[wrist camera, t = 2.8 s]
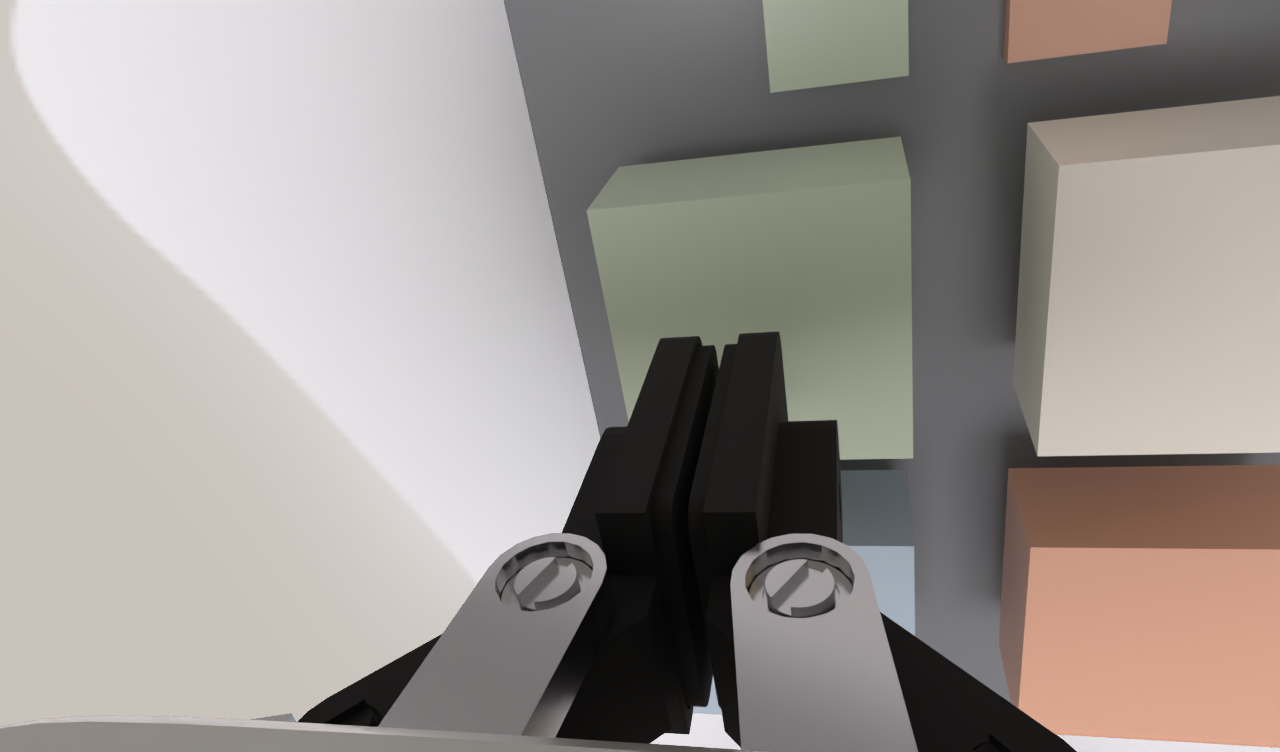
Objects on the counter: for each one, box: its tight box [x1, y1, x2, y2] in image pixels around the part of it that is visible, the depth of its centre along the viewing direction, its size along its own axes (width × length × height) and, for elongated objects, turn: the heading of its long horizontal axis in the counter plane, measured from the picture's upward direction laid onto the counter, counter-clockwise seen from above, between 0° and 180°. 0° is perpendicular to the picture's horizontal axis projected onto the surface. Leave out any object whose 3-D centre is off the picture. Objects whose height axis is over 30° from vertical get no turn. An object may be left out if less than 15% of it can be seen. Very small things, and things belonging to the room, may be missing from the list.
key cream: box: [1013, 96, 1280, 456], centre depth 14 cm, size 5×5×2 cm
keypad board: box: [504, 0, 1280, 703], centre depth 19 cm, size 16×20×2 cm
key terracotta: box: [999, 465, 1280, 748], centre depth 17 cm, size 5×5×2 cm
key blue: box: [693, 470, 915, 715], centre depth 19 cm, size 5×5×2 cm
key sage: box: [586, 136, 913, 460], centre depth 15 cm, size 5×5×2 cm
